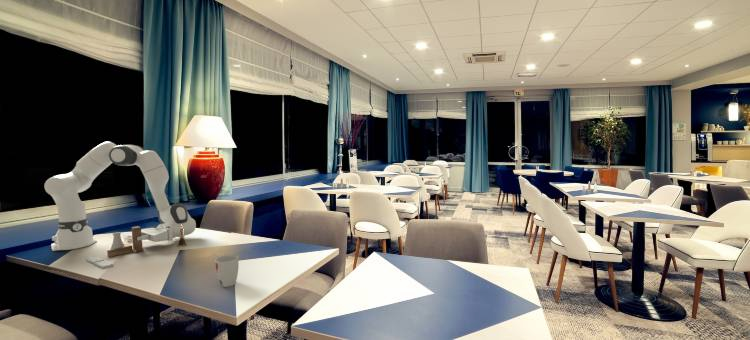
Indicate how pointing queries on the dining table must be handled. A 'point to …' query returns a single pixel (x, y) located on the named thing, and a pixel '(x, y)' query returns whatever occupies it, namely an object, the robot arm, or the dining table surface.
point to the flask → (117, 241)
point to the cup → (227, 269)
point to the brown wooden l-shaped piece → (129, 247)
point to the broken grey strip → (99, 262)
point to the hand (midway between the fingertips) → (134, 238)
